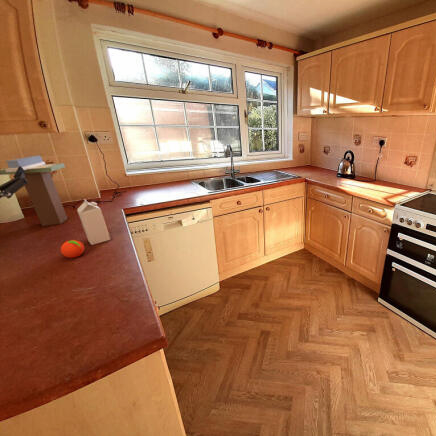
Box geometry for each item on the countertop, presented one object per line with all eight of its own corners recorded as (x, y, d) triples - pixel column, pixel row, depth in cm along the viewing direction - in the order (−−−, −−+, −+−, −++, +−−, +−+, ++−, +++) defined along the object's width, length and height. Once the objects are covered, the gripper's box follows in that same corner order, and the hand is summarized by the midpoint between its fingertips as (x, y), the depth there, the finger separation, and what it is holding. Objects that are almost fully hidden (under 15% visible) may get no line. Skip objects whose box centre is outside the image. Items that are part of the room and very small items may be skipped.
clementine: (93, 253, 99) (87, 237, 97) (76, 262, 93) (69, 245, 90) (77, 251, 101) (71, 236, 98) (59, 260, 95) (52, 243, 92)
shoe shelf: (71, 224, 128) (49, 167, 117) (22, 230, 122) (-6, 170, 111) (82, 215, 141) (63, 163, 130) (39, 220, 135) (15, 165, 124)
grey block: (19, 171, 109) (14, 161, 107) (6, 172, 107) (1, 162, 106) (45, 164, 128) (41, 155, 126) (35, 164, 126) (31, 156, 125)
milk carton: (91, 245, 106) (76, 204, 99) (88, 240, 110) (73, 200, 103) (110, 240, 110) (97, 200, 103) (106, 235, 115) (94, 197, 108)
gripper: (-58, 218, 89) (-32, 180, 101) (29, 209, 96) (44, 174, 109) (-79, 204, 83) (-48, 165, 95) (16, 196, 91) (33, 161, 103)
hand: (1, 170), depth 102 cm, fingers open, 13 cm apart
